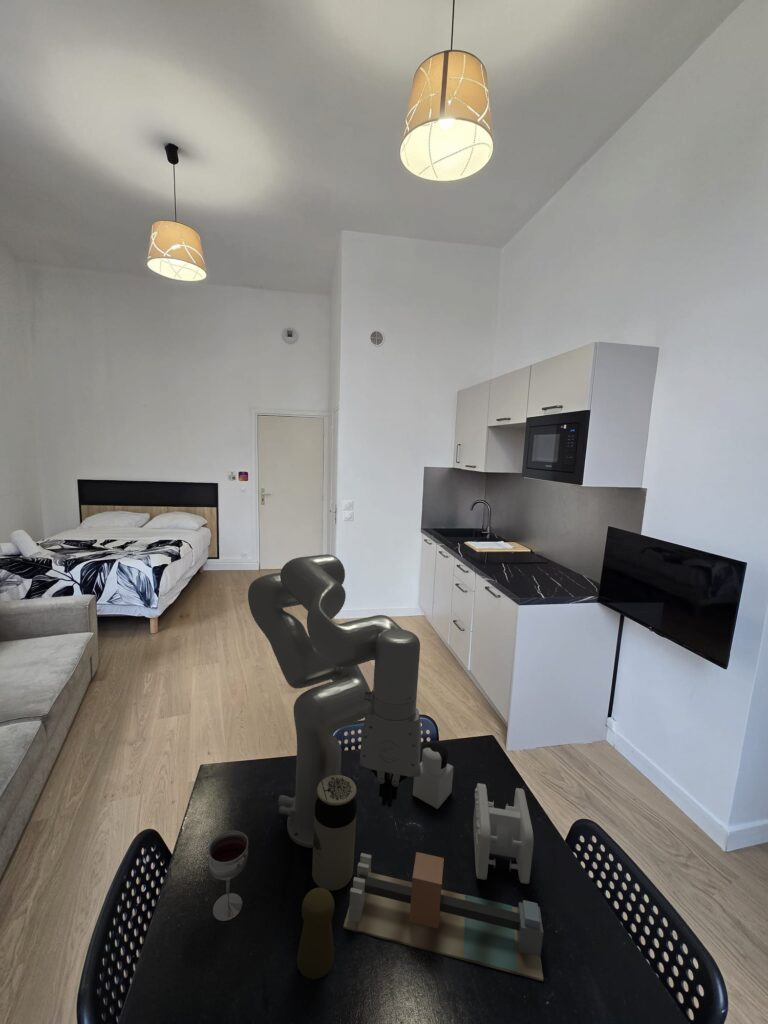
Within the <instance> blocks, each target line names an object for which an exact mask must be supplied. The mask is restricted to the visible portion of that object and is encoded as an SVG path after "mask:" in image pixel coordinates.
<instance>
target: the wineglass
mask: <svg viewBox="0 0 768 1024" xmlns="http://www.w3.org/2000/svg"><path fill="white" fill-rule="evenodd" d="M248 847H249V838H248V836H247V835H246V834H245V833H243V832H242V831H239V830H228V831H224V832H222V833H220V834H218V835H217V836H215V838H213V839H212V841H211V842H210V843H209V847H208V852H207V853H208V858H207V867H208V870H209V872H210V874H211V875H212V876H213V877H214V878H215V879H217V880H220V881H225V887H226V888H225V891H226V893H225V894H223V895H221V896H220V897H219V898H217V900H216V901H215V903H214V904H213V907H212V914H213V917H214V918H215V919H216V920H218V921H221V922H222V921H223V922H225V921H230V920H232V919H234V918H235V917H236V916H237V915H238V914H239V913H240V912H241V910H242V906H243V900H242V897H241V896H240V895H239V894H238V893H234V892H231V893H230V891H231V889H230V888H231V880H232V879H233V878H235V877H236V876H238V875H240V873H241V872H243V870H244V868H245V867H246V865H247V863H248V859H249V848H248Z"/></svg>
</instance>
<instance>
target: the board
mask: <svg viewBox="0 0 768 1024" xmlns="http://www.w3.org/2000/svg"><path fill="white" fill-rule="evenodd" d="M370 877H371V878H375V879H379V880H383V881H387V882H392V883H396V884H400V885H404V886H408V887H412V881H407V880H403V879H399V878H396V877H395V878H394V877H391V876H388V875H387V876H386V875H383V874H379V873H374V872H371V876H370ZM441 895H445V896H450V897H454V898H458V899H462V900H466V901H470V902H474V903H479V904H483V905H487V906H491V907H495V908H499V909H503V910H508V911H512V912H516V913H518V906H512V905H510V904H506V903H502V902H497V901H494V900H489V899H485V898H481V897H476V896H472V895H468V894H462V893H457V892H453V891H449V890H446V889H442V888H441ZM410 905H411V904H409V903H405V902H401V901H397V900H393V899H389V898H385V897H381V896H377V895H373V894H369V893H367V894H366V898H365V902H364V906H363V910H362V914H361V918H360V922H356V921H352V920H349V919H348V916H349V907H348V909H347V913H346V917H345V919H344V923H343V929H345V930H348V931H353V932H356V933H361V934H362V935H363V934H364V935H367V936H371V937H375V938H379V939H382V940H387V941H389V942H395V943H397V944H400V945H401V944H402V945H405V946H409V947H413V948H416V949H420V950H424V951H428V952H432V953H435V954H439V955H443V956H446V957H450V958H453V959H458V960H462V961H465V962H469V963H473V964H477V965H481V966H483V967H487V968H492V969H495V970H499V971H503V972H506V973H509V974H514V975H518V976H522V977H525V978H527V979H528V978H530V979H533V980H536V981H541V982H544V973H543V966H542V958H541V957H539V956H535V955H531V954H527V953H523V952H519V950H518V938H517V930H514V929H510V928H506V927H502V926H498V925H494V924H490V923H486V922H482V921H478V920H474V919H470V918H466V917H462V916H458V915H453V914H449V913H445V912H441V911H439V923H438V929H437V928H433V927H429V926H425V925H421V924H417V923H413V922H409V918H410Z"/></svg>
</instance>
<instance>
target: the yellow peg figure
mask: <svg viewBox="0 0 768 1024" xmlns="http://www.w3.org/2000/svg"><path fill="white" fill-rule="evenodd" d="M335 908H336V907H335V900H334V897H333V895H332V893H331V892H330V890H327V889H325V888H321V887H319V886H318V887H316V888H313V889H310V890H309V891H308V892H307V893H306V895H305V897H304V898H303V900H302V904H301V917H302V920H303V925H302V930H301V935H300V941H299V946H298V951H297V957H296V965H297V968H298V970H299V972H300V974H301V975H302V976H304V977H305V978H307V977H308V978H307V979H309V978H312V979H311V980H317V978H319V979H321V978H320V977H322V978H323V977H325V976H326V975H327V974H329V972H330V971H331V970H332V968H333V965H334V963H335V947H334V938H333V937H334V936H333V929H332V928H333V927H332V926H333V925H332V919H333V917H334V915H335V914H334V913H335Z"/></svg>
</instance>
